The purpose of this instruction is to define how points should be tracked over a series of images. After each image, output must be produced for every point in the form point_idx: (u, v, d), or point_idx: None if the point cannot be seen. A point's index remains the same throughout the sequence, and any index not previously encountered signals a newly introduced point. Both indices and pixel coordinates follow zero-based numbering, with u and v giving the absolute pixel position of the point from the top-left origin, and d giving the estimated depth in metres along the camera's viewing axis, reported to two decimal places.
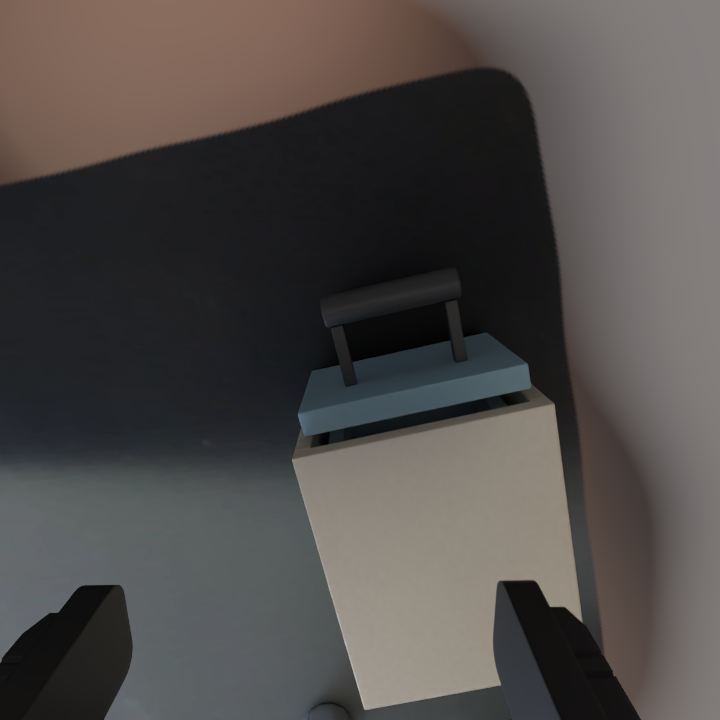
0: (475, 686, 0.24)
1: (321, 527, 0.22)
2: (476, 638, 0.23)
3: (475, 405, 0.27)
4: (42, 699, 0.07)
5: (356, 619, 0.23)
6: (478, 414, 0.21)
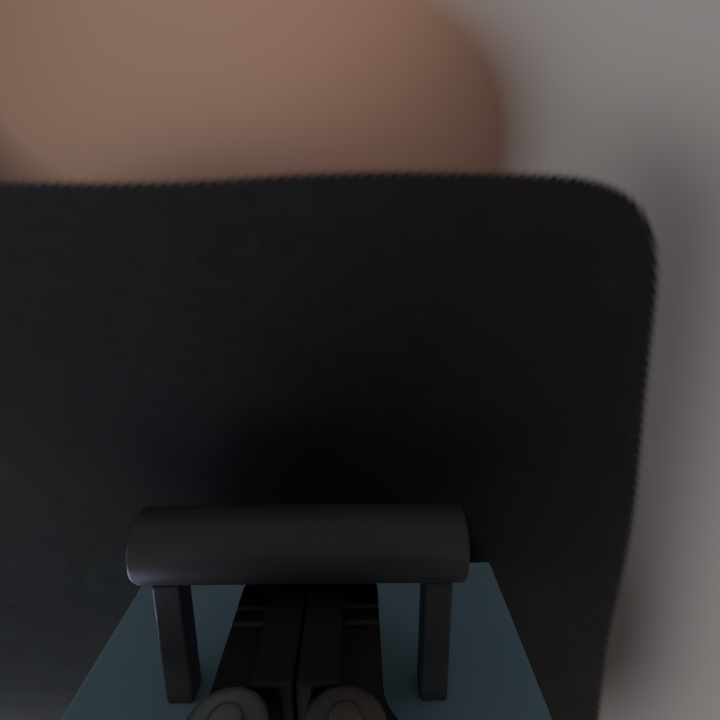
0: None
1: None
2: None
3: None
4: (300, 637, 0.09)
5: None
6: None
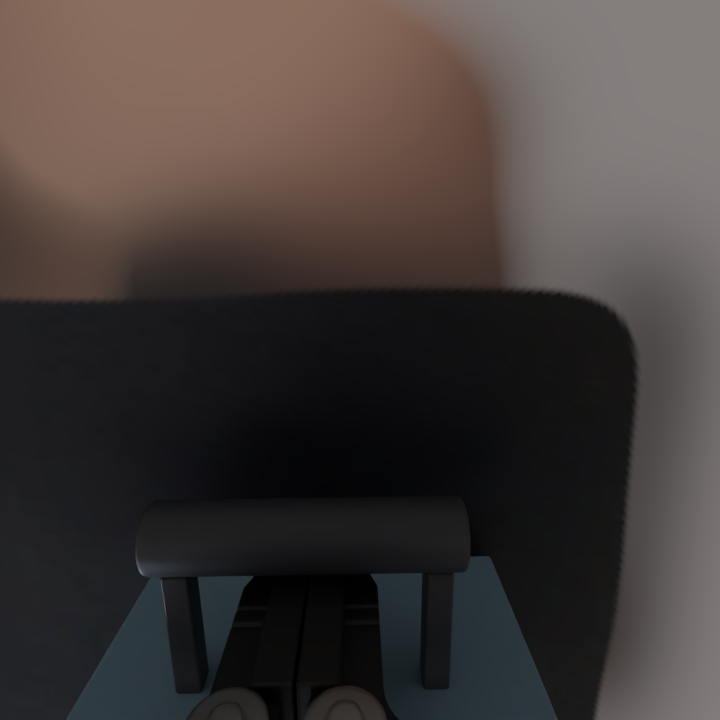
0: None
1: None
2: None
3: None
4: (300, 637, 0.09)
5: None
6: None
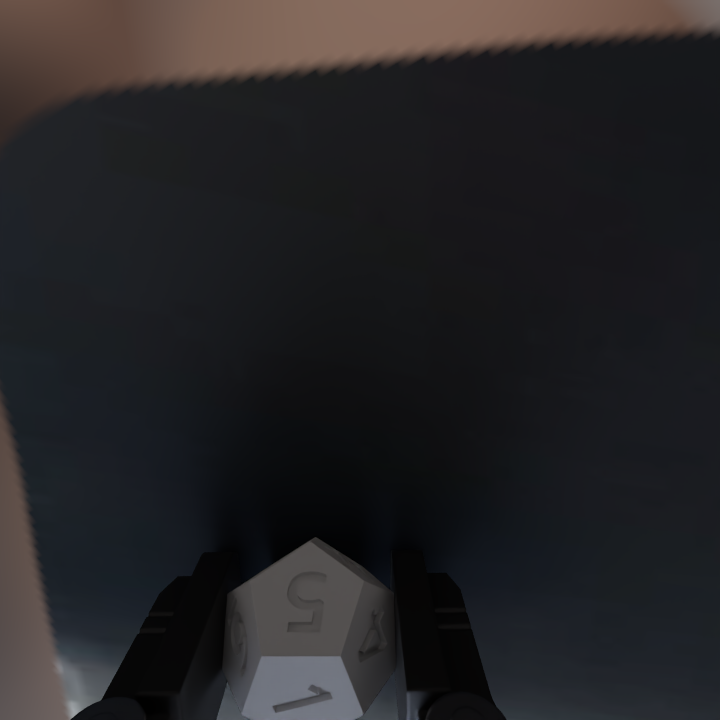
0: None
1: None
2: None
3: None
4: (202, 644, 0.08)
5: None
6: None
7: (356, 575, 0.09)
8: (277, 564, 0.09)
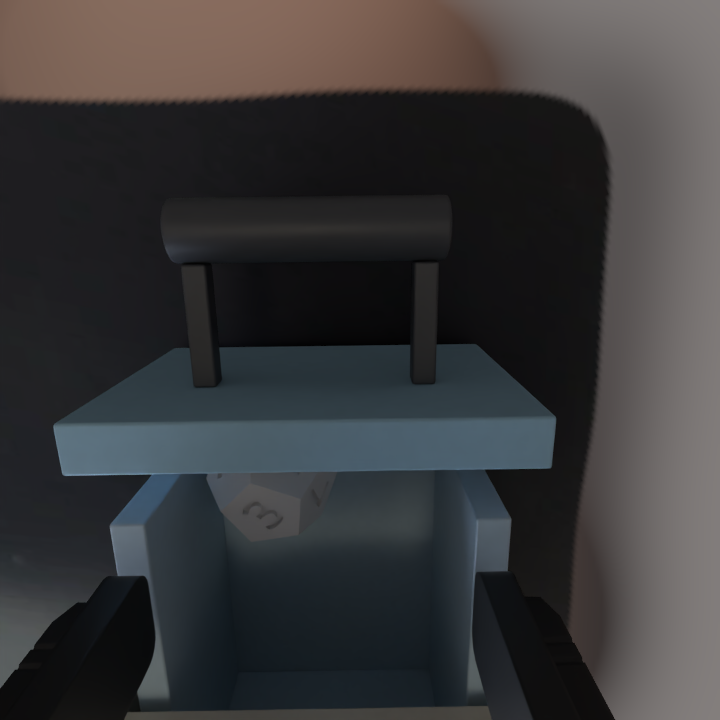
0: None
1: None
2: None
3: None
4: (77, 683, 0.08)
5: None
6: (427, 718, 0.11)
7: None
8: None
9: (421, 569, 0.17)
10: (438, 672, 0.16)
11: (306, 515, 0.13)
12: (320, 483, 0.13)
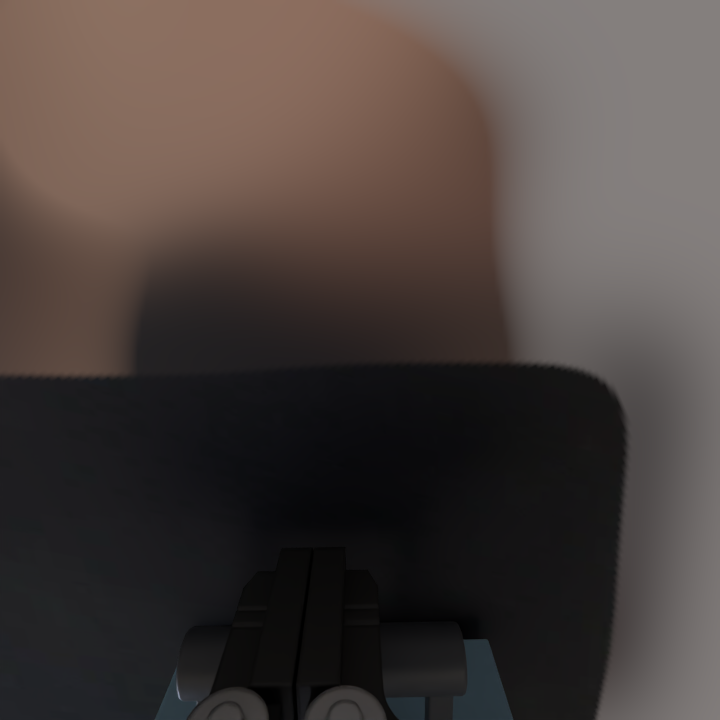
0: None
1: None
2: None
3: None
4: (300, 637, 0.09)
5: None
6: None
7: None
8: None
9: None
10: None
11: None
12: None
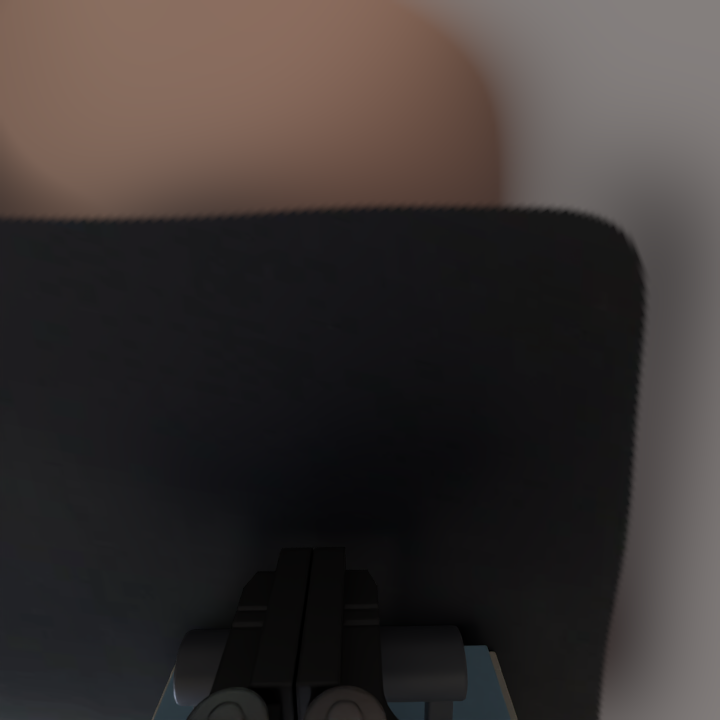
0: None
1: None
2: None
3: None
4: (300, 637, 0.09)
5: None
6: None
7: None
8: None
9: None
10: None
11: None
12: None
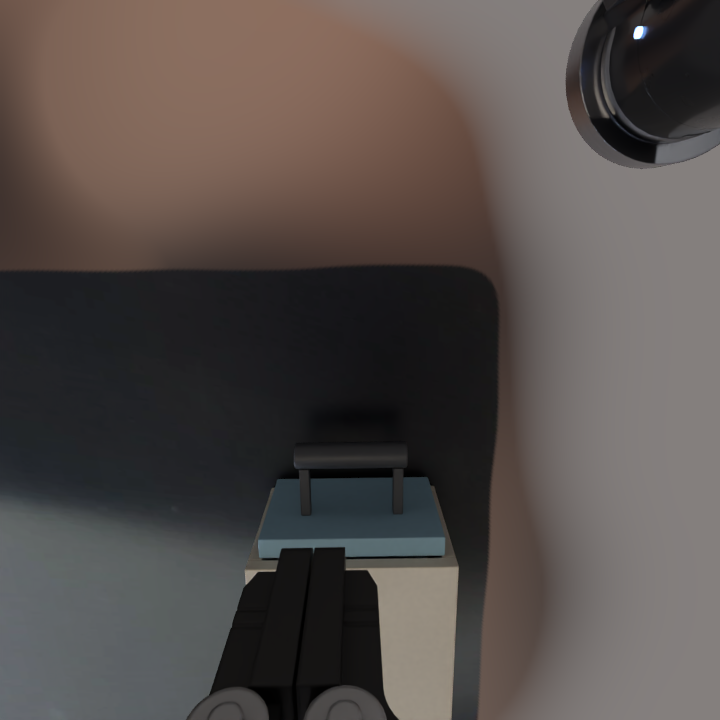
0: None
1: None
2: None
3: None
4: (300, 637, 0.09)
5: None
6: (399, 561, 0.26)
7: None
8: None
9: None
10: None
11: None
12: None
